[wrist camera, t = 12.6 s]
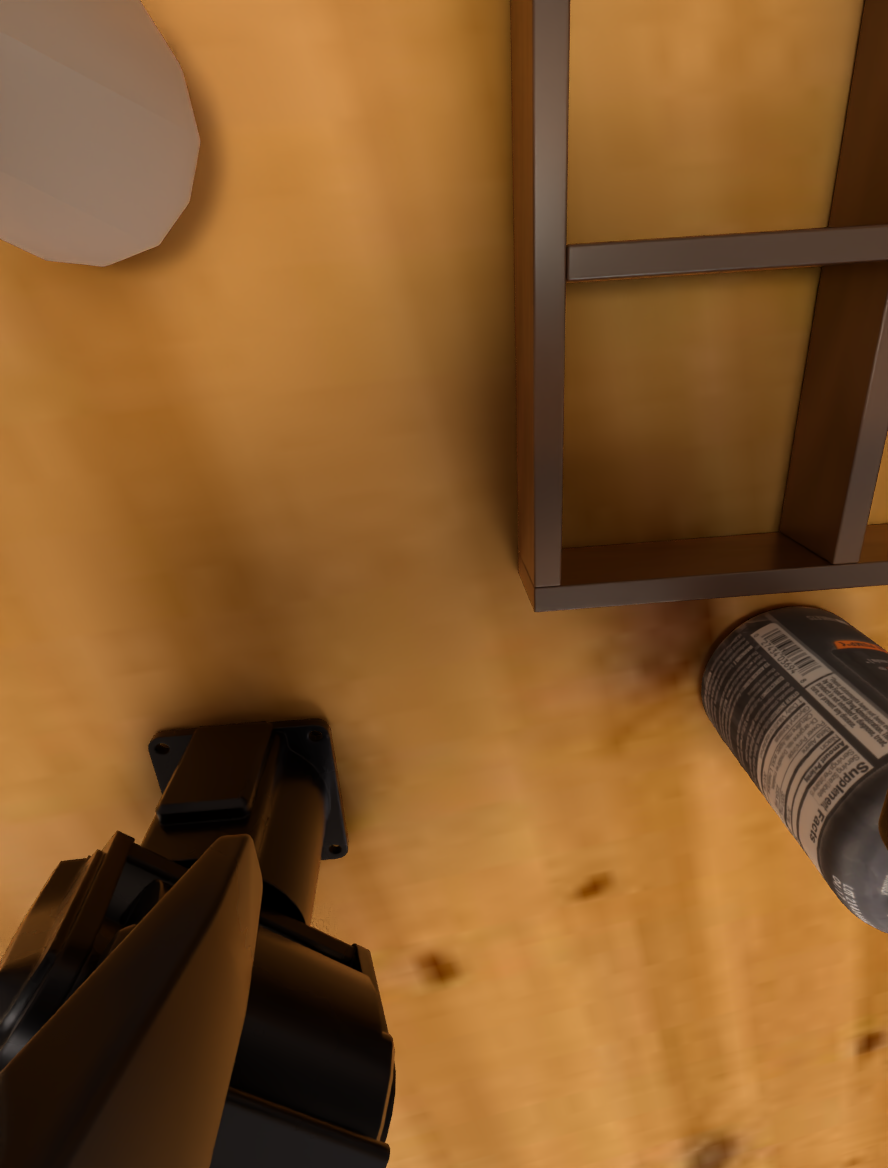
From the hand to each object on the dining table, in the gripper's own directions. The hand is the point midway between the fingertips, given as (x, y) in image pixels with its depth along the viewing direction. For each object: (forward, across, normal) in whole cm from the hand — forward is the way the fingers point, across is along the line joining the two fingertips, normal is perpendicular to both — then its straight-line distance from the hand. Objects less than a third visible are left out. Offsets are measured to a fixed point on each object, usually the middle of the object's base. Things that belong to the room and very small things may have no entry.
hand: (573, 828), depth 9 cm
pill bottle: (+13, -11, +6) cm, 18 cm away
